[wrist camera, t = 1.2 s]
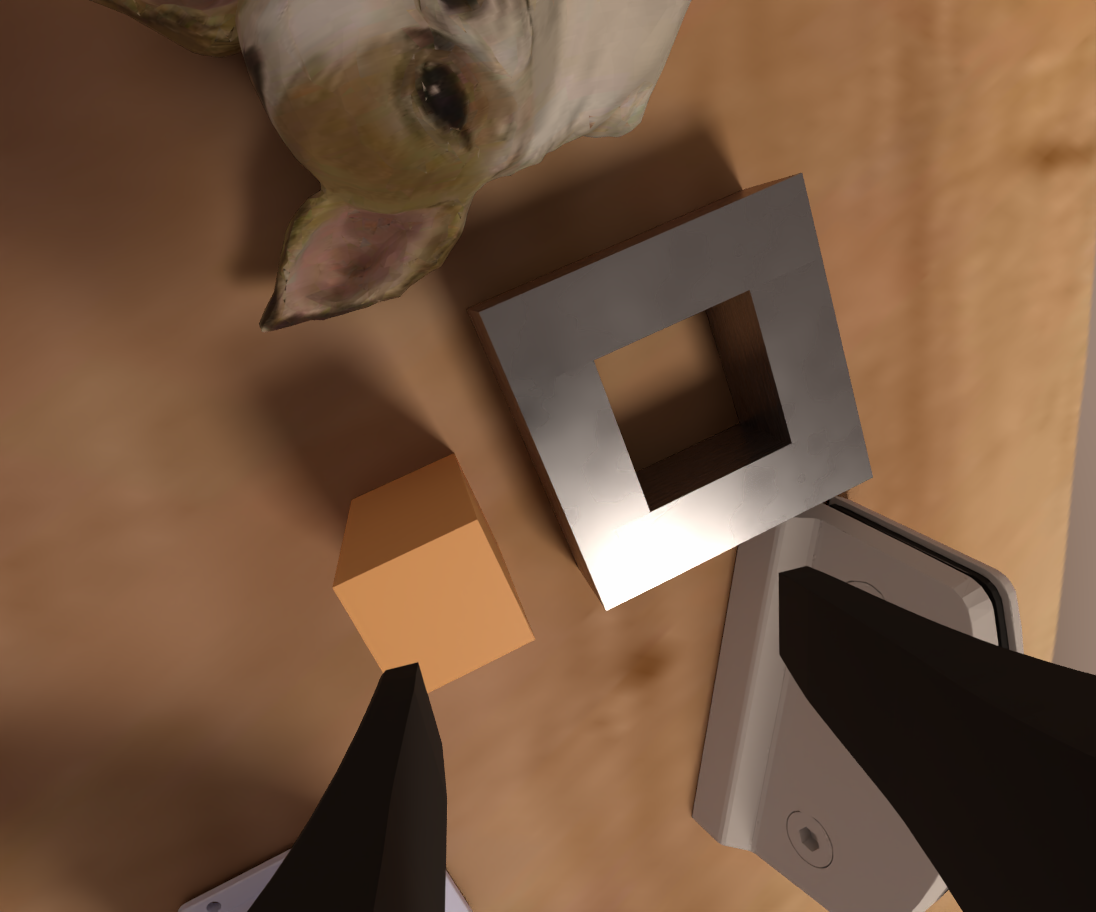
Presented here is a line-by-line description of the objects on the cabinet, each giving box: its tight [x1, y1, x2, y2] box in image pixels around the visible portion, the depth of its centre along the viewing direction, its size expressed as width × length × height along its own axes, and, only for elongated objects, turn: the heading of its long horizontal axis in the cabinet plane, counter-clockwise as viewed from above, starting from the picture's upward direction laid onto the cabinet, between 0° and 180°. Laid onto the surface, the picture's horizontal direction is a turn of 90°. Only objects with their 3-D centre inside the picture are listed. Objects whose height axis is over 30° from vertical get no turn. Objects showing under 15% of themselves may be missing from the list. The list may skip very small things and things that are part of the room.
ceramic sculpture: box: [90, 0, 691, 332], centre depth 16 cm, size 11×9×15 cm
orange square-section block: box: [333, 453, 535, 693], centre depth 20 cm, size 4×4×7 cm
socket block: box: [467, 173, 873, 611], centre depth 22 cm, size 11×11×4 cm
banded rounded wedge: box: [692, 496, 1024, 912], centre depth 25 cm, size 17×5×10 cm, turn 175°
